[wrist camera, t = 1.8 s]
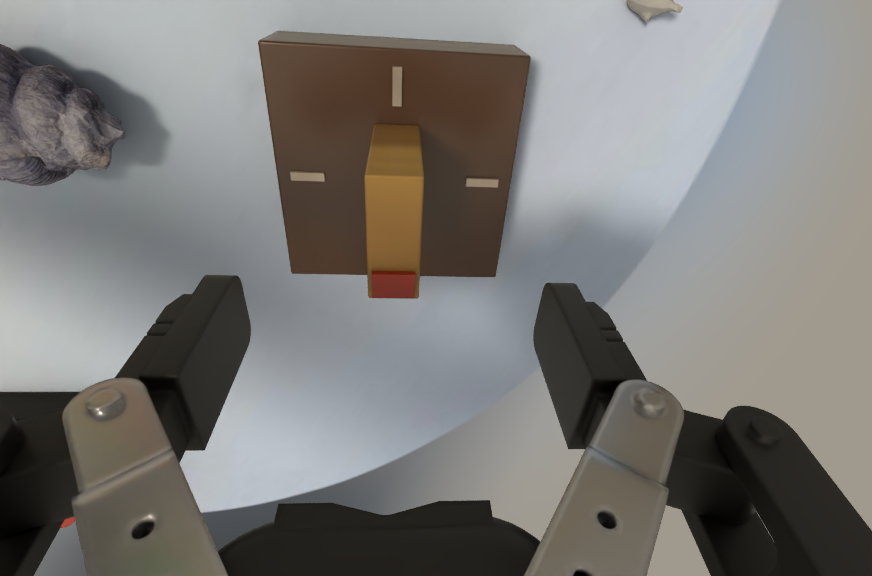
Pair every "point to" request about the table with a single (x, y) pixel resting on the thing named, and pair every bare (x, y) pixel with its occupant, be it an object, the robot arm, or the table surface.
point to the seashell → (49, 123)
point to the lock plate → (397, 105)
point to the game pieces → (653, 7)
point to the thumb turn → (394, 211)
